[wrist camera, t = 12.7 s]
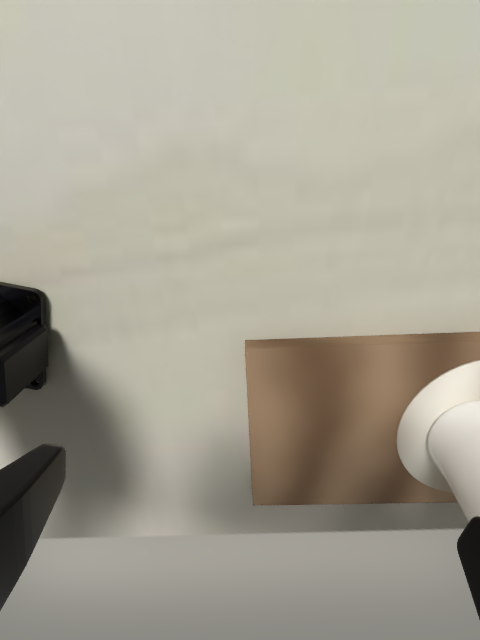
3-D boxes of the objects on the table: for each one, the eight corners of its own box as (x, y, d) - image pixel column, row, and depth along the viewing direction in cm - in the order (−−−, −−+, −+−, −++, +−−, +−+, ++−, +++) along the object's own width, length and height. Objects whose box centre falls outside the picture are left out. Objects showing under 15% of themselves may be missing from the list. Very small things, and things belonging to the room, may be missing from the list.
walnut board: (252, 490, 25) (253, 507, 24) (245, 340, 21) (245, 351, 19) (540, 485, 24) (556, 503, 23) (598, 327, 20) (623, 338, 18)
